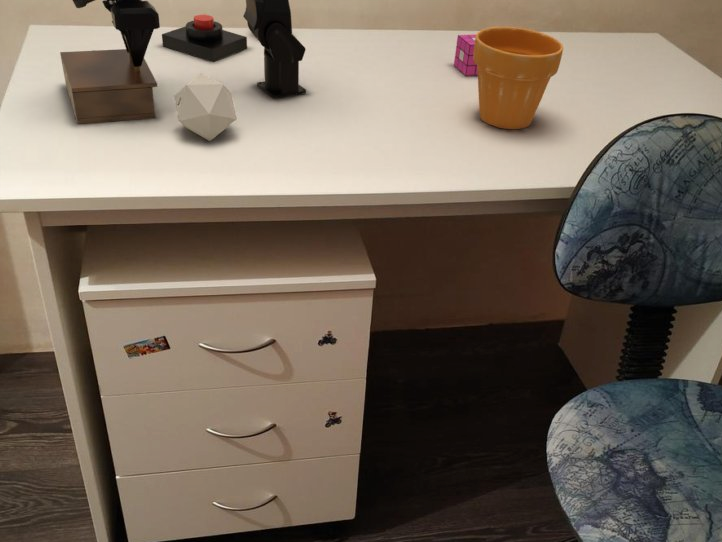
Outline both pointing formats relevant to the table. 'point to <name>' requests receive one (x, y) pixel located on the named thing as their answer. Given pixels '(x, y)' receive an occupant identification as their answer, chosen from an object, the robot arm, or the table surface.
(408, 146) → the table surface
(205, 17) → the release button
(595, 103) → the table surface
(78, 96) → the compartment
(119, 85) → the lid
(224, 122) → the die
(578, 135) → the table surface
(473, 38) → the puzzle toy
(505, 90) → the flower pot
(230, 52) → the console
